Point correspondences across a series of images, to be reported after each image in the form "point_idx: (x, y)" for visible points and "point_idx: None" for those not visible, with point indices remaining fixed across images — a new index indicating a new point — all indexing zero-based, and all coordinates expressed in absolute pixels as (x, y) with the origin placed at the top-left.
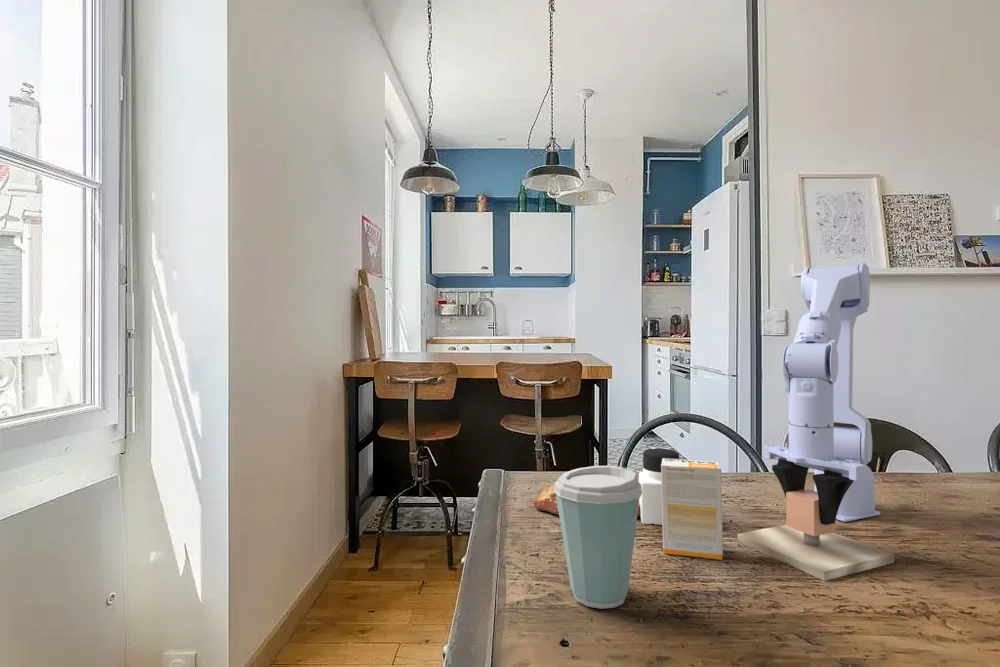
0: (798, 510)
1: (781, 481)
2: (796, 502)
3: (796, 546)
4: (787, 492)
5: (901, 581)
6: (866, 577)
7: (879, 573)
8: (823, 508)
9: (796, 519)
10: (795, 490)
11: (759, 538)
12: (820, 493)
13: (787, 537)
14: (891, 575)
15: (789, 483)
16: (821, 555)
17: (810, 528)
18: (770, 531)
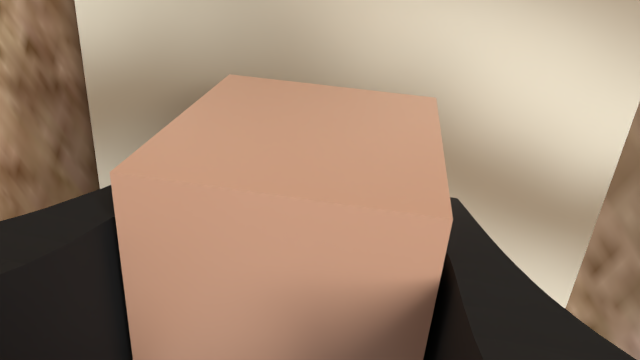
0: (318, 137)
1: (568, 337)
2: (327, 168)
3: (348, 36)
4: (441, 227)
5: (10, 153)
6: (66, 72)
7: (82, 156)
8: (101, 191)
9: (348, 112)
10: (435, 352)
11: None
12: (13, 246)
13: (457, 122)
14: (57, 176)
15: (462, 350)
16: (209, 38)
17: (239, 87)
18: (575, 126)
